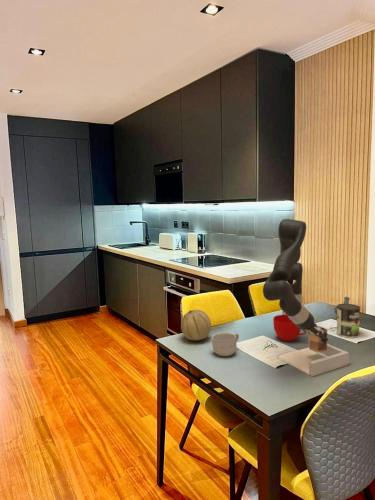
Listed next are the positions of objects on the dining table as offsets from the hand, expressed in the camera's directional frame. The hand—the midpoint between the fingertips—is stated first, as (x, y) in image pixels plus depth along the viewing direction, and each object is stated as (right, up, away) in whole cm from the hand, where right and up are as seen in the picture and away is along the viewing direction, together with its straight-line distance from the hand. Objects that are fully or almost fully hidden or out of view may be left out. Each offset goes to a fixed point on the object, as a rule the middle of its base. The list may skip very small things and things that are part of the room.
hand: (321, 339), depth 149 cm
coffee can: (+23, -5, +27) cm, 36 cm away
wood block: (-1, -4, 0) cm, 5 cm away
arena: (-4, -9, -1) cm, 10 cm away
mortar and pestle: (+31, -2, +49) cm, 58 cm away
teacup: (-38, -9, +10) cm, 40 cm away
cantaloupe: (-51, -7, +27) cm, 58 cm away
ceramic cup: (-6, -6, +23) cm, 24 cm away
